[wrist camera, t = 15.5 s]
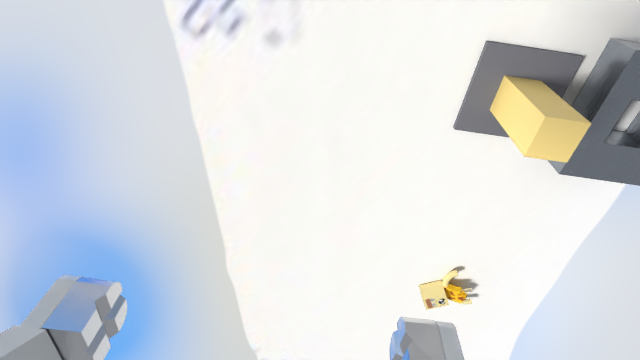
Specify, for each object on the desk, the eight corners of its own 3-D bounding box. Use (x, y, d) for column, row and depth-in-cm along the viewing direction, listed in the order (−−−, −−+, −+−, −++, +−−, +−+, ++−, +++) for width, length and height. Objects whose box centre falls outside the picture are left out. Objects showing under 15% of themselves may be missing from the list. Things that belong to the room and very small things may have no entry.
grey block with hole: (610, 38, 37) (635, 49, 34) (706, 52, 37) (740, 65, 34) (543, 155, 45) (558, 174, 42) (622, 166, 46) (643, 186, 42)
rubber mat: (486, 40, 38) (488, 42, 38) (580, 55, 38) (583, 56, 38) (453, 127, 44) (454, 129, 43) (535, 138, 44) (537, 141, 44)
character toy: (479, 311, 58) (429, 320, 60) (473, 294, 61) (425, 303, 63) (471, 279, 54) (417, 289, 56) (465, 262, 57) (414, 273, 59)
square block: (504, 75, 39) (545, 116, 31) (540, 80, 39) (591, 123, 31) (489, 109, 42) (524, 156, 34) (524, 114, 42) (567, 162, 34)
